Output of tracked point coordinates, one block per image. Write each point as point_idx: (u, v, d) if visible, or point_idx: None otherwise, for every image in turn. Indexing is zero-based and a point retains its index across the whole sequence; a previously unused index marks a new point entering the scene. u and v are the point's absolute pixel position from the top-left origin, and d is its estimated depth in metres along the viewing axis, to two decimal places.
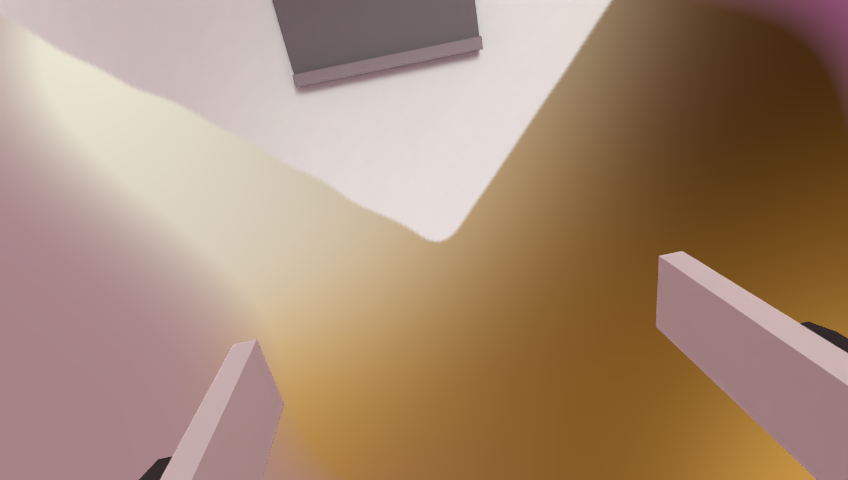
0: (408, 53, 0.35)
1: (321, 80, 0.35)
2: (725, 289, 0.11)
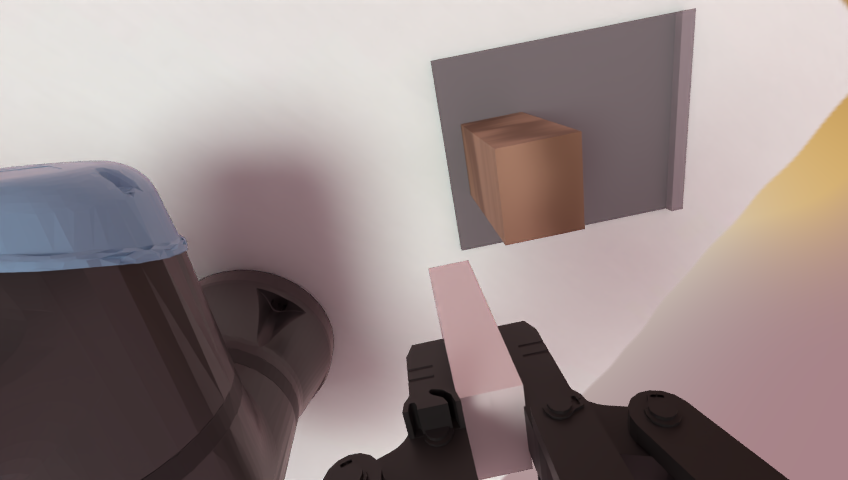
0: (680, 97, 0.34)
1: (682, 185, 0.36)
2: (470, 293, 0.13)
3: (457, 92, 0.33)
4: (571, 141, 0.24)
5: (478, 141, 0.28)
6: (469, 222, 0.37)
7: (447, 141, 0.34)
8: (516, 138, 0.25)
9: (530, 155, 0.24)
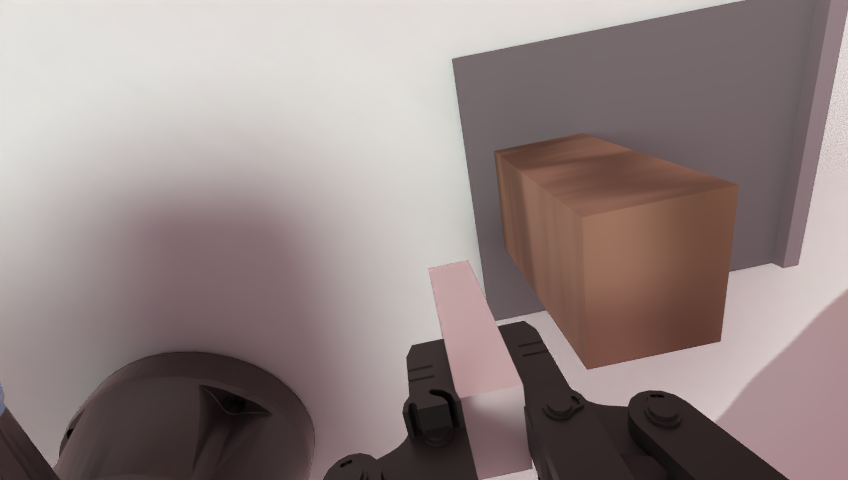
0: (814, 111, 0.23)
1: (801, 234, 0.26)
2: (469, 293, 0.13)
3: (490, 104, 0.22)
4: (719, 202, 0.13)
5: (534, 188, 0.17)
6: (502, 285, 0.26)
7: (474, 175, 0.23)
8: (611, 192, 0.14)
9: (645, 226, 0.13)
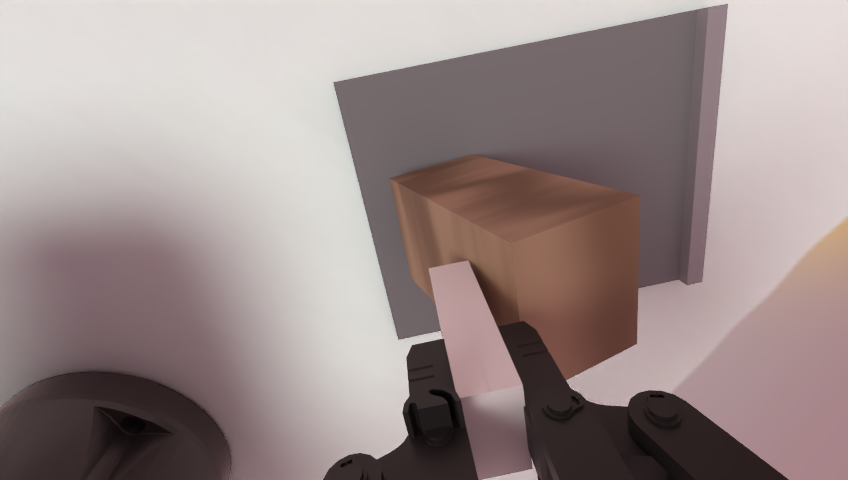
0: (702, 132, 0.23)
1: (702, 251, 0.26)
2: (469, 294, 0.13)
3: (376, 127, 0.22)
4: (626, 213, 0.14)
5: (445, 215, 0.16)
6: (406, 303, 0.26)
7: (366, 196, 0.23)
8: (528, 213, 0.14)
9: (568, 245, 0.13)
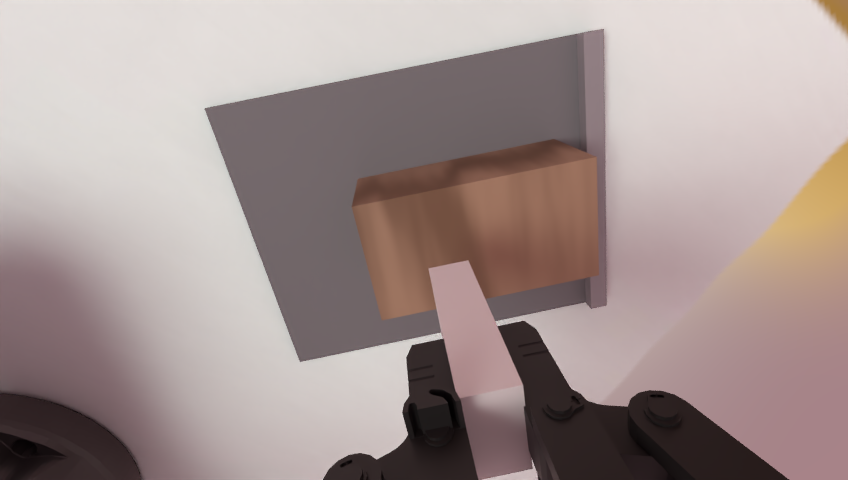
0: None
1: (603, 275, 0.26)
2: (470, 294, 0.13)
3: (253, 152, 0.22)
4: None
5: (498, 183, 0.18)
6: (304, 326, 0.26)
7: (251, 221, 0.23)
8: (548, 155, 0.20)
9: None
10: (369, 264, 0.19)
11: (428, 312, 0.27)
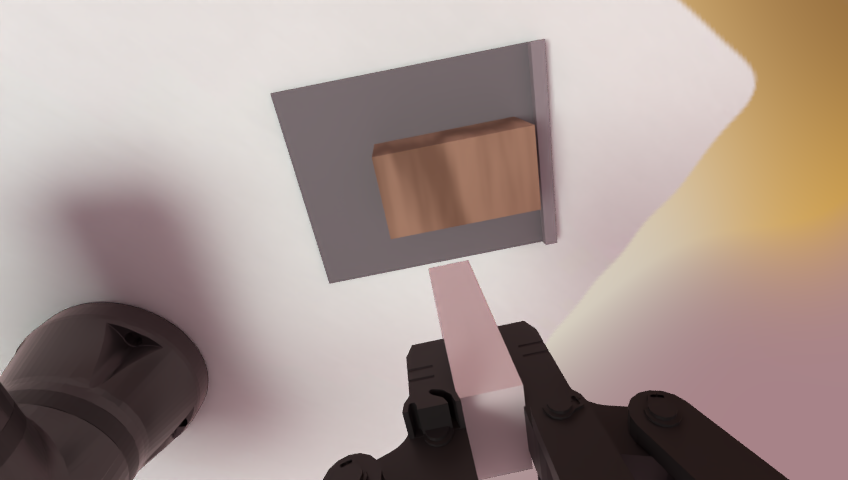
0: (539, 129, 0.32)
1: (554, 219, 0.35)
2: (469, 293, 0.13)
3: (302, 124, 0.31)
4: None
5: (469, 142, 0.28)
6: (333, 255, 0.36)
7: (299, 174, 0.33)
8: (505, 125, 0.29)
9: None
10: (382, 198, 0.29)
11: (424, 246, 0.36)
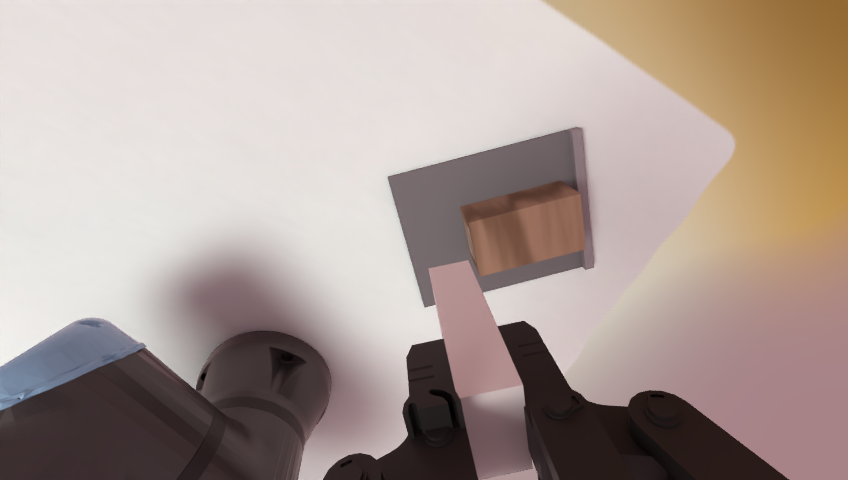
0: (579, 189, 0.44)
1: (591, 250, 0.47)
2: (470, 293, 0.13)
3: (409, 197, 0.44)
4: None
5: (535, 208, 0.40)
6: (428, 286, 0.48)
7: (405, 231, 0.45)
8: (558, 192, 0.41)
9: None
10: (475, 249, 0.41)
11: (495, 276, 0.48)
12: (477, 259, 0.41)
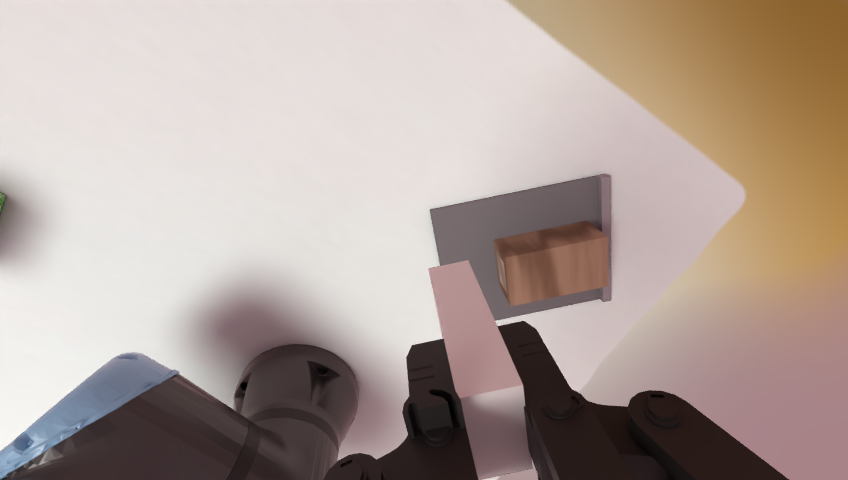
0: (603, 229, 0.48)
1: (609, 285, 0.51)
2: (470, 293, 0.13)
3: (448, 228, 0.47)
4: None
5: (566, 248, 0.44)
6: None
7: (441, 259, 0.49)
8: (586, 233, 0.45)
9: None
10: (508, 281, 0.45)
11: None
12: (509, 290, 0.45)
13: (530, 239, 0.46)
